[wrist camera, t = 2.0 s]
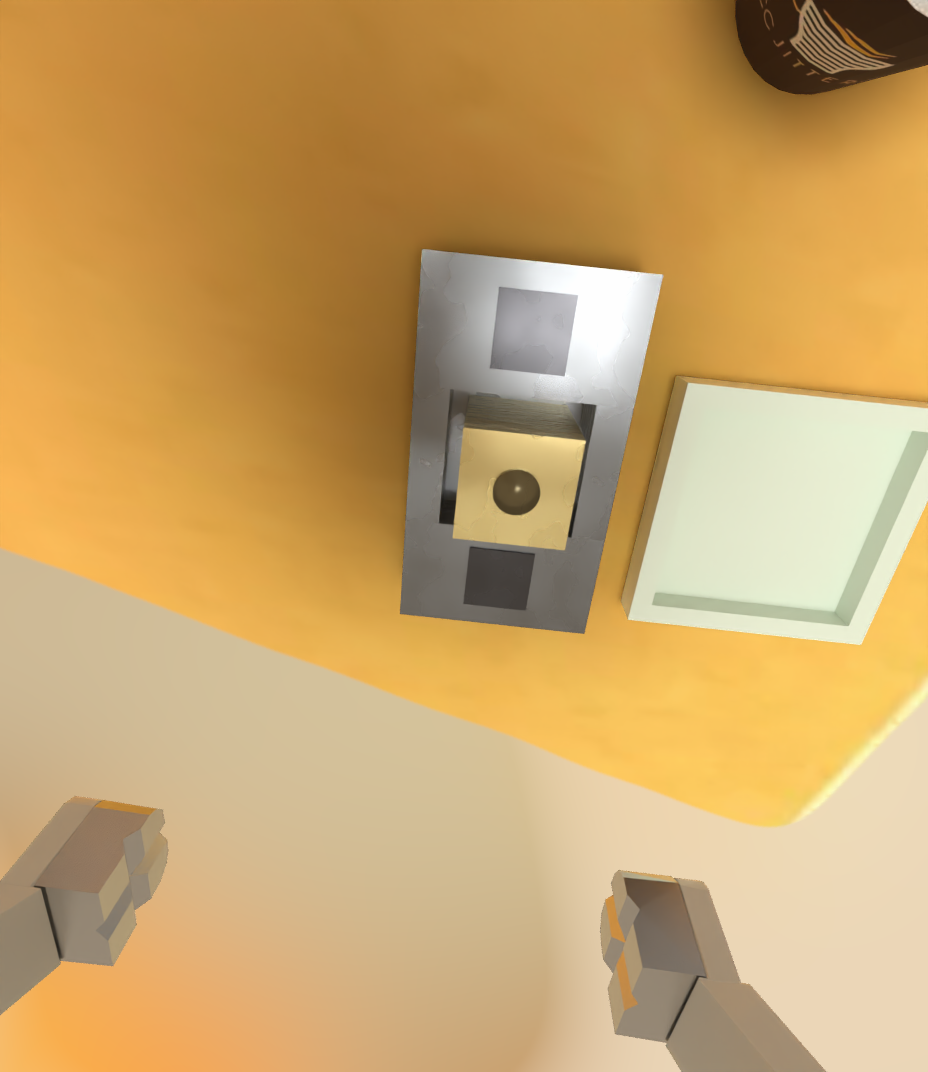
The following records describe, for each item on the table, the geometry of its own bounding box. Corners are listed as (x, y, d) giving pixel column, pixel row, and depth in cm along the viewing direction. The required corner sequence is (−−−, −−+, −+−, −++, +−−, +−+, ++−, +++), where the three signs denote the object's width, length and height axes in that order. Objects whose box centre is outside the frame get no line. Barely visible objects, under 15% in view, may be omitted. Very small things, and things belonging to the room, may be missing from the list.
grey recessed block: (431, 251, 25) (421, 248, 22) (640, 273, 25) (663, 274, 22) (409, 578, 32) (399, 614, 28) (574, 595, 32) (584, 635, 28)
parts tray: (675, 375, 27) (688, 382, 25) (938, 403, 27) (968, 412, 25) (620, 600, 32) (627, 619, 30) (841, 624, 32) (860, 644, 30)
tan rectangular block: (469, 394, 27) (463, 429, 21) (567, 405, 27) (586, 442, 21) (460, 486, 29) (452, 540, 23) (551, 496, 29) (565, 552, 23)
